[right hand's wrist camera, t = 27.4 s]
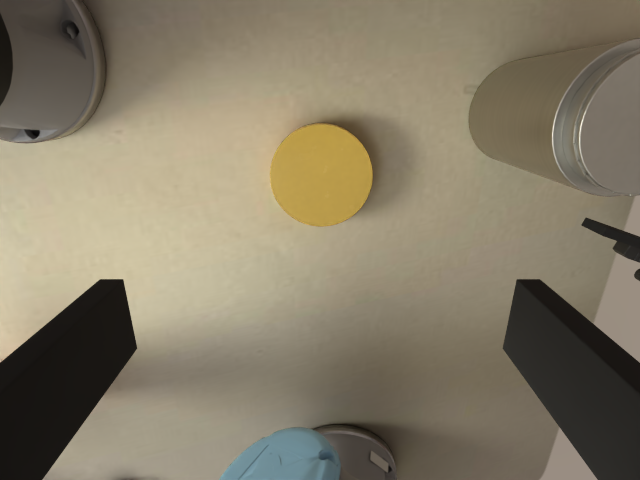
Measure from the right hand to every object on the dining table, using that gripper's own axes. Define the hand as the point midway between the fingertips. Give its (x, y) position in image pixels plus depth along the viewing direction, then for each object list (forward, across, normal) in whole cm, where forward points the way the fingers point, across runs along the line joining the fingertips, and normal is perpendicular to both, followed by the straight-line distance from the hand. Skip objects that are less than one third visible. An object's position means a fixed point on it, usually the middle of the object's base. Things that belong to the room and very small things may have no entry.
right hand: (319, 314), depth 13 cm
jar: (+26, +18, +6) cm, 32 cm away
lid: (+24, 0, 0) cm, 25 cm away
